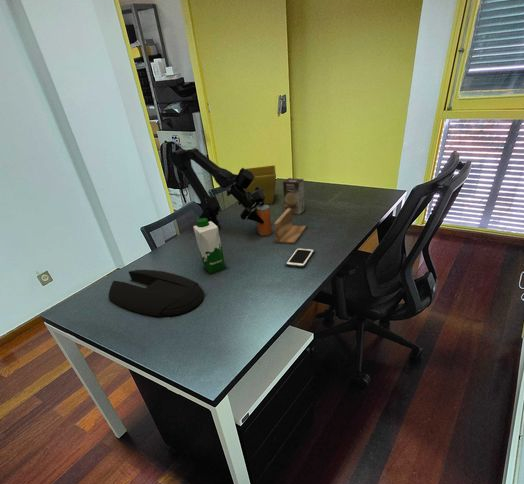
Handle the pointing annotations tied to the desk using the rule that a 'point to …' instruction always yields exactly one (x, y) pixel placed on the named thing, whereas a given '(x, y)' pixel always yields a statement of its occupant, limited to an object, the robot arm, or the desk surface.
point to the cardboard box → (264, 181)
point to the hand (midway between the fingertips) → (266, 220)
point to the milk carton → (209, 245)
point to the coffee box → (294, 195)
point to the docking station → (157, 293)
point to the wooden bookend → (287, 229)
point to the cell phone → (300, 257)
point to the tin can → (264, 213)
